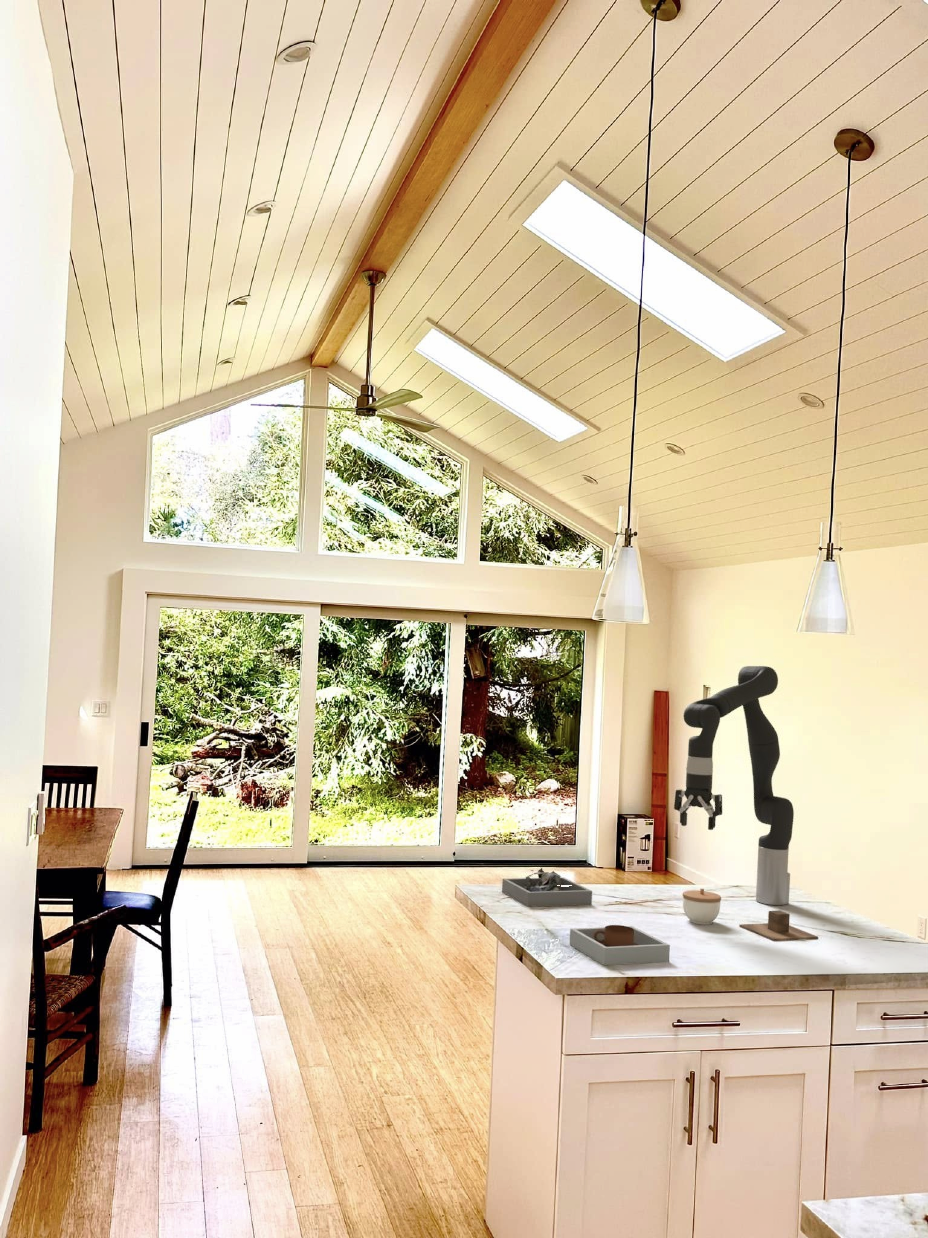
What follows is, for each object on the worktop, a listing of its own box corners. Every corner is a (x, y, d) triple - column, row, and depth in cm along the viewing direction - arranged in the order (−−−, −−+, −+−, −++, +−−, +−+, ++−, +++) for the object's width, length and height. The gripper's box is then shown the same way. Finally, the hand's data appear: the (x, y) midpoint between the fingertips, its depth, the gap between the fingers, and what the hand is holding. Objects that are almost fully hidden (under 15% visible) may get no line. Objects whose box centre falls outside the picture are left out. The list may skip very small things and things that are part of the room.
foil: (508, 885, 317) (542, 855, 324) (523, 914, 319) (557, 884, 327) (532, 891, 307) (566, 861, 314) (547, 921, 309) (581, 890, 317)
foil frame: (562, 890, 329) (563, 877, 329) (591, 904, 311) (592, 891, 311) (501, 891, 321) (502, 878, 321) (527, 906, 303) (528, 892, 304)
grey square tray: (631, 941, 271) (632, 926, 271) (669, 961, 254) (669, 945, 254) (569, 944, 264) (570, 928, 264) (603, 965, 248) (604, 948, 248)
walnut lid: (782, 927, 300) (783, 905, 300) (818, 941, 286) (819, 918, 286) (739, 928, 294) (740, 906, 294) (772, 943, 280) (774, 920, 280)
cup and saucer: (603, 960, 252) (604, 935, 252) (587, 947, 264) (589, 922, 264) (650, 961, 254) (651, 935, 255) (632, 947, 266) (633, 922, 267)
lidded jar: (673, 920, 298) (675, 887, 298) (696, 915, 305) (698, 883, 305) (704, 928, 290) (706, 894, 290) (727, 924, 297) (729, 891, 297)
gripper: (727, 774, 305) (725, 830, 304) (683, 769, 314) (680, 823, 313) (716, 775, 299) (714, 832, 298) (671, 770, 308) (669, 825, 307)
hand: (697, 827), depth 306 cm, fingers open, 8 cm apart
